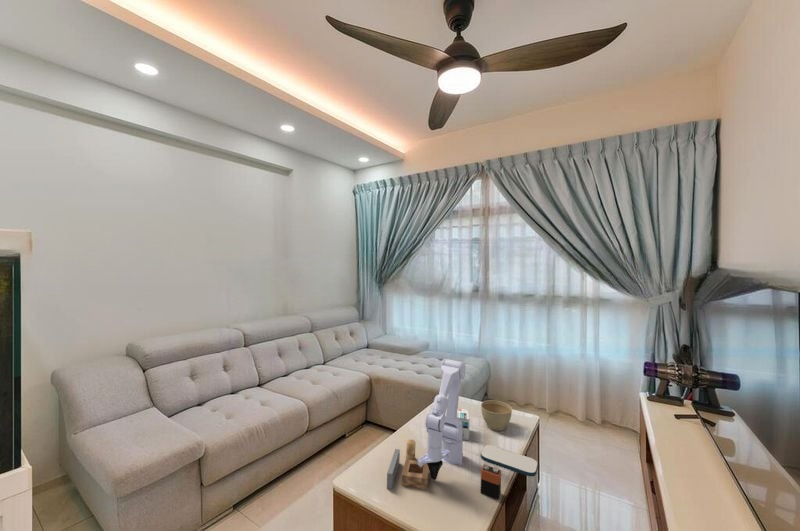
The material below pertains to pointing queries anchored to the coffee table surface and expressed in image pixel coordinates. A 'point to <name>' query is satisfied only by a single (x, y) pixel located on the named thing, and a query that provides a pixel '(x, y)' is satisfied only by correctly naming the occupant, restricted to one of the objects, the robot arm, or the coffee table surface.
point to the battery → (491, 481)
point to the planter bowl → (496, 414)
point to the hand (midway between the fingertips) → (433, 478)
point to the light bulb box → (464, 422)
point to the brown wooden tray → (415, 474)
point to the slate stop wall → (393, 469)
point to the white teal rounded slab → (509, 460)
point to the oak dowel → (410, 450)
